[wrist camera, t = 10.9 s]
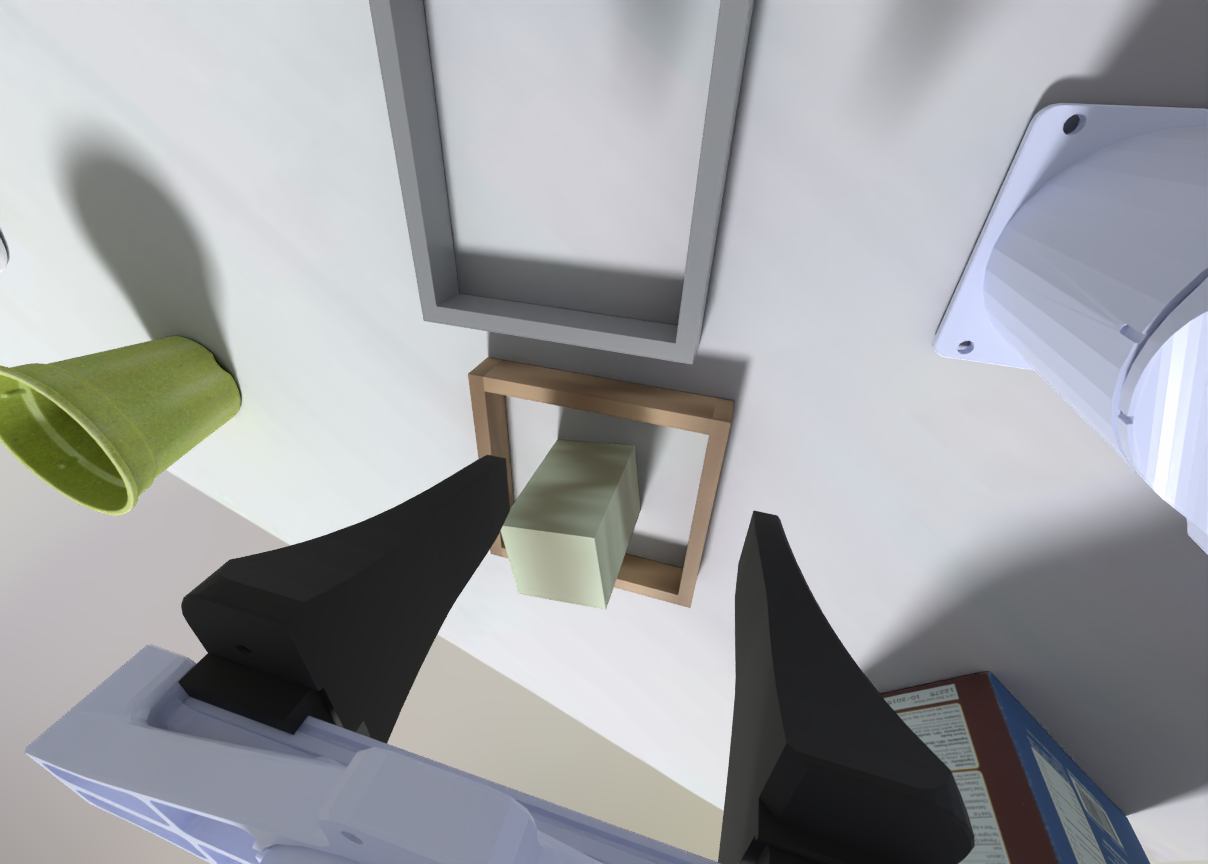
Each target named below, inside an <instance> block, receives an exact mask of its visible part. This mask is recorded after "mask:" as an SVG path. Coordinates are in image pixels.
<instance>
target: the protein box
mask: <svg viewBox="0 0 1208 864" xmlns="http://www.w3.org/2000/svg"><path fill="white" fill-rule="evenodd" d="M880 695H881V696H882V697H883V698H884V700H885V701H886V702H887V703H888V704H889V705H890V707H891V708H892V709H893V710H894V711H895V712H896V713H897V714H898V716H899V717H900V718H901V719H902V720H903V721H904V722H905V724H906V725H907V726H908V727H909V728H910V729H911V730H912V731H913V732H914V733H915V734H916V735H917V736H918V737H919V738H920V739H921V740H922V741H923V742H924V743H925V744H926V745H927V746H928V747H929V748H930V749H931V750H932V752H933V753H934V754H935V755H936V756H937V757H938V758H939V759H940V760H941V761H942V762H943V763H944V764H945V765H946V766H947V767H948V768H949V769H950V770H951V771H952V774H953V777H954V779H955V781H956V784H957V786H958V789H959V791H960V794H961V796H962V799H963V801H964V804H965V807H966V809H967V812H968V816H969V819H970V822H971V826H972V829H973V833H974V837H975V847H974V848H973V849H972V851H971V852H970V853H969V855H968V856H967V857H966V858H965V859H964V860H962V861H961V862H960V863H959V864H1150V862H1149V860H1148V858H1147V856H1146V854H1145V852H1144V850H1143V848H1142V846H1141V844H1140V842H1139V840H1138V838H1137V836H1136V834H1135V832H1134V830H1133V829H1132V827H1131V825H1130V823H1129V821H1128V819H1127V817H1126V816H1125V815H1124V814H1123V813H1122V812H1121V811H1120V810H1119V809H1118V808H1117V807H1116V806H1115V805H1114V804H1113V803H1112V802H1111V800H1110V799H1109V798H1108V797H1107V796H1106V795H1105V794H1104V793H1103V792H1102V791H1101V790H1100V789H1099V788H1098V787H1097V786H1096V785H1095V784H1094V782H1093V781H1092V780H1091V779H1090V778H1089V777H1088V776H1087V775H1086V774H1085V773H1084V772H1083V771H1082V770H1081V769H1080V768H1079V767H1078V766H1077V765H1076V763H1075V762H1074V761H1073V760H1072V759H1071V758H1070V757H1069V756H1068V755H1067V754H1066V753H1065V752H1064V750H1063V749H1062V748H1061V747H1060V746H1059V745H1058V744H1057V743H1056V742H1055V741H1054V740H1053V739H1052V737H1051V736H1050V735H1049V734H1048V733H1047V732H1046V731H1045V730H1044V729H1043V728H1042V727H1041V726H1040V725H1039V723H1038V722H1037V721H1036V720H1035V719H1034V718H1033V717H1032V716H1031V715H1030V714H1029V713H1028V712H1027V710H1026V709H1025V708H1024V707H1023V706H1022V705H1021V704H1020V703H1019V702H1018V701H1017V700H1016V699H1015V698H1014V697H1013V696H1012V695H1011V693H1010V692H1009V691H1008V690H1007V689H1006V688H1005V687H1004V686H1003V685H1002V684H1001V683H1000V682H999V681H998V680H997V679H996V678H995V677H994V676H993V675H992V674H991V673H990V672H982V673H977V674H973V675H968V676H963V677H959V678H954V679H950V680H945V681H940V682H935V683H931V684H926V685H922V686H917V687H913V688H908V689H903V690H898V691H894V692H889V693H885V694H880Z"/></svg>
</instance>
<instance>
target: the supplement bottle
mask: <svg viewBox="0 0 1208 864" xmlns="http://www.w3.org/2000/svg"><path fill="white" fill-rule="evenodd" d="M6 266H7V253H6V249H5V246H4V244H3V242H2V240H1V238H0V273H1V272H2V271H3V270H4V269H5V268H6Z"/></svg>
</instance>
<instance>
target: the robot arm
mask: <svg viewBox="0 0 1208 864" xmlns="http://www.w3.org/2000/svg"><path fill="white" fill-rule="evenodd" d="M1075 114H1076V115H1078V116H1079V118H1080V121H1079V125H1078V126H1077V128H1076V129H1075V130H1074V131H1072V132H1071V133H1069V134H1065V133H1064V131H1063V125H1064V123H1065V122H1066V120H1067V119H1068V118H1069V117H1071V116H1072V115H1075ZM964 341H971V345H970V346H969V347H968V348H966V349H964V350H958V349H957V347H958V345H959V344H960V343H962V342H964ZM933 348H934V350H935V352H936V353H937V354H938V355H939V356H942V357H946V358H953V359H960V360H967V361H974V362H981V363H988V364H995V365H1002V366H1009V367H1016V368H1023V369H1030V370H1035V371H1036V372H1037V373H1038V374H1039V375H1040V376H1041V377H1042V378H1043V379H1044V380H1045V381H1046V382H1047V383H1048V384H1049V385H1050V386H1051V387H1052V388H1053V389H1054V390H1055V391H1056V392H1057V393H1058V394H1059V395H1060V397H1061V398H1062V399H1063V400H1064V401H1065V402H1066V403H1067V404H1068V405H1069V406H1070V407H1071V408H1072V409H1073V410H1074V411H1075V412H1076V413H1077V414H1078V415H1079V416H1080V417H1081V418H1082V419H1083V420H1084V421H1085V422H1086V423H1087V424H1088V425H1089V426H1090V427H1091V428H1092V429H1093V430H1094V431H1095V432H1096V433H1097V434H1098V435H1099V436H1100V437H1101V438H1102V439H1103V440H1104V441H1105V442H1106V443H1107V444H1108V445H1109V446H1110V447H1111V448H1112V449H1113V450H1114V451H1115V452H1116V453H1117V454H1118V455H1119V456H1120V457H1121V458H1122V459H1123V460H1124V461H1125V462H1126V463H1127V464H1128V465H1129V466H1130V467H1131V468H1132V469H1133V470H1134V471H1135V472H1136V473H1138V474H1139V475H1140V476H1141V477H1142V478H1143V479H1144V481H1145V482H1146V483H1147V484H1148V485H1149V486H1150V487H1151V488H1152V489H1153V490H1154V491H1155V492H1156V493H1157V494H1158V495H1159V496H1160V497H1161V498H1163V499H1164V500H1165V501H1166V502H1167V503H1168V504H1170V505H1171V506H1172V507H1173V508H1174V509H1176V510H1177V511H1178V512H1179V513H1181V514H1182V515H1183V516H1185V517H1186V519H1187V533H1188V535H1189V536H1190V537H1191V538H1192V539H1193V540H1194V541H1195V542H1196V543H1197V544H1198V545H1199V547H1200V548H1201V549H1202V550H1203V551H1204V552H1205V553H1206V554H1207V555H1208V109H1202V108H1177V107H1152V106H1127V105H1101V104H1076V103H1057V104H1050V105H1048V106H1046V107H1044V108H1042V109H1041V110H1040V111H1039V112H1038V113H1037V114H1035V116H1034V117H1033V119H1032V120H1031V122H1030V124H1029V126H1028V128H1027V131H1026V133H1025V135H1024V137H1023V140H1022V142H1021V144H1020V146H1019V149H1018V151H1017V153H1016V155H1015V158H1014V160H1013V162H1012V164H1011V167H1010V169H1009V171H1008V173H1007V176H1006V178H1005V180H1004V182H1003V185H1002V187H1001V189H1000V191H999V194H998V196H997V198H996V200H995V203H994V205H993V207H992V210H991V212H990V214H989V216H988V219H987V221H986V223H985V225H984V228H983V230H982V232H981V234H980V237H979V239H978V241H977V243H976V246H975V248H974V250H973V252H972V255H971V257H970V259H969V261H968V264H967V266H966V268H965V270H964V273H963V275H962V277H961V279H960V282H959V284H958V286H957V288H956V291H955V293H954V295H953V297H952V300H951V302H950V304H949V306H948V309H947V311H946V313H945V315H944V318H943V320H942V322H941V324H940V327H939V329H938V331H937V333H936V336H935V338H934V340H933ZM509 512H510V502H509V490H508V478H507V466H506V458H501V457H496V456H492V455H486V456H484V457H482V458H480V459H478V460H477V461H475V462H473V463H472V464H470V465H468V466H467V467H465V468H463V469H462V470H460V471H458V472H457V473H455V474H454V475H452V476H450V477H448V478H447V479H445V480H443V481H442V482H440V483H438V484H437V485H435V486H433V487H431V488H430V489H428V490H426V491H424V492H422V493H420V494H419V495H417V496H415V497H413V498H411V499H409V500H407V501H405V502H404V503H402V504H400V505H398V506H396V507H394V508H392V509H390V510H387V511H385V512H383V513H381V514H379V515H376V516H374V517H372V518H369V519H367V520H365V521H362V522H360V523H357V524H355V525H352V526H349V527H346V528H344V529H341V530H338V531H335V532H333V533H330V534H327V535H324V536H321V537H318V538H315V539H312V540H308V541H305V542H302V543H298V544H295V545H291V546H288V547H284V548H280V549H276V550H272V551H268V552H263V553H259V554H254V555H250V556H245V557H241V558H236V559H231V560H229V561H228V562H226V563H225V564H224V565H223V566H221V567H220V568H219V569H218V570H217V571H215V572H214V573H213V574H212V575H211V576H209V577H208V578H207V579H206V580H205V581H203V582H202V583H201V584H200V585H199V586H197V587H196V588H195V589H194V590H192V591H191V592H190V593H189V594H187V595H186V596H185V597H184V598H183V601H182V606H181V607H182V613H183V616H184V617H185V619H186V621H187V623H188V624H189V626H190V627H191V629H192V630H193V632H194V633H195V635H196V636H197V637H198V639H199V640H200V642H201V643H202V645H203V646H204V648H205V649H206V651H207V652H208V654H207V655H206V656H205V657H204V658H203V659H201V660H200V661H199V662H198V663H197V664H196V663H195V662H194V661H192V660H191V659H189V658H187V657H185V656H183V655H181V654H178V653H175V652H172V651H169V650H167V649H164V648H161V647H158V646H155V645H152V644H151V645H146V646H145V647H144V648H143V649H142V650H140V651H139V652H138V653H137V654H136V655H135V656H133V657H132V658H131V659H130V660H129V661H128V662H126V663H125V664H124V665H123V666H122V667H120V668H119V669H118V670H117V671H116V672H114V674H112V675H111V676H110V677H109V678H107V679H106V680H105V681H104V682H103V683H102V684H101V685H99V686H98V687H97V688H96V689H94V690H93V691H92V692H91V693H90V694H89V695H87V696H86V697H85V698H84V699H83V700H81V701H80V702H79V703H78V704H77V705H76V706H74V707H73V708H72V709H71V710H70V711H69V712H67V713H66V714H65V715H64V716H63V717H62V718H60V719H59V720H58V721H57V722H56V723H54V724H53V725H52V726H51V727H50V728H48V729H47V730H46V731H45V732H44V733H43V734H41V735H40V736H39V737H38V738H37V739H36V740H34V741H33V742H32V743H31V744H30V745H28V746H27V747H26V750H25V754H27V755H28V756H29V757H31V758H32V759H33V760H34V761H36V762H37V763H38V764H39V765H41V766H42V767H43V768H45V769H46V770H47V771H49V772H50V773H51V774H52V775H54V776H55V777H56V778H57V779H59V780H60V781H61V782H62V783H64V784H65V785H66V786H68V787H69V788H70V789H72V790H73V791H74V792H75V793H77V794H78V795H79V796H80V797H82V798H83V799H84V800H85V801H87V802H88V803H90V804H91V805H93V806H96V807H98V808H100V809H102V810H105V811H106V812H109V813H111V814H113V815H115V816H117V817H120V818H122V819H124V820H126V821H128V822H130V823H132V824H134V825H136V826H138V827H140V828H142V829H144V830H146V831H148V832H150V833H152V834H154V835H156V836H158V837H161V838H162V839H164V840H166V841H168V842H170V843H172V844H174V845H176V846H178V847H180V848H182V849H184V850H186V851H188V852H190V853H192V854H194V855H195V856H198V857H199V858H201V859H203V860H205V861H207V862H209V863H211V864H959V863H960V862H961V861H962V860H964V859H965V858H966V857H967V856H968V855H969V853H970V852H971V851H972V849H973V848H974V847H975V837H974V833H973V829H972V826H971V822H970V819H969V816H968V812H967V809H966V807H965V804H964V801H963V799H962V796H961V794H960V791H959V789H958V786H957V784H956V781H955V779H954V777H953V774H952V771H951V770H950V769H949V768H948V767H947V766H946V765H945V764H944V763H943V762H942V761H941V760H940V759H939V758H938V757H937V756H936V755H935V754H934V753H933V752H932V750H931V749H930V748H929V747H928V746H927V745H926V744H925V743H924V742H923V741H922V740H921V739H920V738H919V737H918V736H917V735H916V734H915V733H914V732H913V731H912V730H911V729H910V728H909V727H908V726H907V725H906V724H905V722H904V721H903V720H902V719H901V718H900V717H899V716H898V714H897V713H896V712H895V711H894V710H893V709H892V708H891V707H890V705H889V704H888V703H887V702H886V701H885V700H884V698H883V697H882V696H881V695H880V693H879V692H878V691H877V689H876V688H875V687H874V686H873V684H872V683H871V682H870V681H869V679H868V678H867V677H866V676H865V674H864V673H863V672H862V671H861V669H860V668H859V667H858V665H857V664H856V663H855V661H854V660H853V658H852V657H851V655H850V654H849V653H848V651H847V650H846V648H845V647H844V646H843V644H842V643H841V641H840V640H839V638H838V636H837V635H836V633H835V632H834V630H833V629H832V627H831V626H830V624H829V622H828V621H827V619H826V617H825V616H824V614H823V612H822V611H821V609H820V607H819V605H818V603H817V602H816V600H815V598H814V596H813V594H812V592H811V591H810V589H809V587H808V585H807V583H806V581H805V579H804V576H803V574H802V572H801V570H800V568H799V566H798V564H797V562H796V560H795V557H794V555H793V553H792V550H791V548H790V545H789V543H788V540H787V538H786V535H785V532H784V530H783V527H782V524H781V520H780V519H779V517H778V516H777V515H772V514H767V513H762V512H758V511H753V514H752V518H751V522H750V525H749V529H748V532H747V536H746V539H745V543H744V546H743V550H742V553H741V557H740V560H739V565H738V574H737V583H736V593H735V656H736V683H735V701H734V713H733V724H732V736H731V746H730V757H729V767H728V777H727V786H726V796H725V805H724V815H723V824H722V832H721V842H720V850H719V859H718V862H715V861H713V860H710V859H707V858H704V857H702V856H699V855H696V854H693V853H690V852H688V851H685V850H682V849H679V848H676V847H674V846H671V845H668V844H665V843H662V842H659V841H657V840H654V839H651V838H648V837H645V836H643V835H640V834H637V833H635V832H632V831H629V830H626V829H623V828H621V827H617V826H615V825H612V824H609V823H607V822H604V821H601V820H598V819H595V818H593V817H590V816H587V815H584V814H581V813H579V812H576V811H573V810H570V809H568V808H565V807H562V806H559V805H556V804H553V803H551V802H548V801H545V800H542V799H540V798H537V797H534V796H531V795H528V794H526V793H523V792H520V791H517V790H514V789H511V788H509V787H506V786H503V785H501V784H498V783H495V782H492V781H489V780H487V779H484V778H481V777H478V776H475V775H473V774H469V773H467V772H464V771H461V770H458V769H456V768H453V767H450V766H447V765H445V764H442V763H439V762H436V761H433V760H431V759H428V758H425V757H422V756H419V755H417V754H414V753H411V752H408V751H406V750H403V749H400V748H397V747H394V746H391V745H389V744H387V742H388V740H389V737H390V735H391V732H392V730H393V728H394V725H395V723H396V721H397V718H398V716H399V713H400V711H401V709H402V707H403V705H404V702H405V700H406V698H407V696H408V694H409V691H410V689H411V687H412V685H413V683H414V680H415V678H416V676H417V674H418V672H419V670H420V668H421V665H422V664H423V662H424V660H425V658H426V655H427V654H428V651H429V649H430V647H431V645H432V643H433V641H434V639H435V638H436V636H437V634H438V632H439V630H440V628H441V626H442V624H443V622H444V620H445V618H446V617H447V615H448V613H449V611H450V609H451V608H452V606H453V604H454V603H455V601H456V599H457V598H458V596H459V595H460V593H461V592H462V590H463V589H464V587H465V586H466V584H467V583H468V581H469V580H470V578H471V577H472V575H473V574H474V572H475V571H476V569H477V568H478V566H479V565H480V563H481V562H482V560H483V559H484V557H485V556H486V554H487V553H488V551H489V550H490V548H491V546H492V545H493V543H494V542H495V540H496V539H497V537H498V535H499V533H500V531H501V529H502V527H503V525H504V522H505V520H506V518H507V516H508V514H509Z"/></svg>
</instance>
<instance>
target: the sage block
mask: <svg viewBox="0 0 1208 864" xmlns="http://www.w3.org/2000/svg"><path fill="white" fill-rule="evenodd" d="M640 510H641V508H640V497H639V486H638V475H637V464H636V453H635V445H625V444H611V443H597V442H583V441H568V440H557V441H556V442H555V444H554V445H553V447H552V448H551V450H550V451H549V453H548V454H547V456H546V457H545V459H544V460H543V462H542V463H541V464H540V466H539V467H538V469H537V470H536V472H535V473H534V475H533V476H532V478H531V479H530V481H529V482H528V484H527V485H526V486H525V488H524V489H523V491H522V492H521V494H520V495H519V497H518V498H517V500H516V501H515V503H514V504H513V506H512V507H511V508H510V512H509V514H508V516H507V518H506V520H505V522H504V525H503V527H502V529H501V534H502V537H503V541H504V544H505V548H506V551H507V554H508V558H509V561H510V565H511V568H512V572H513V575H514V579H515V582H516V585H517V589H518V592H519V594H522V595H528V596H534V597H539V598H545V599H550V600H556V601H562V602H567V603H573V604H578V605H584V606H590V607H595V608H601V609H606V607H607V604H608V602H609V599H610V596H611V593H612V590H613V587H614V585H615V582H616V579H617V576H618V573H619V570H620V567H621V565H622V562H623V559H624V556H625V553H626V550H627V547H628V545H629V542H630V539H631V536H632V533H633V530H634V527H635V525H636V522H637V519H638V516H639V513H640Z"/></svg>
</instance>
